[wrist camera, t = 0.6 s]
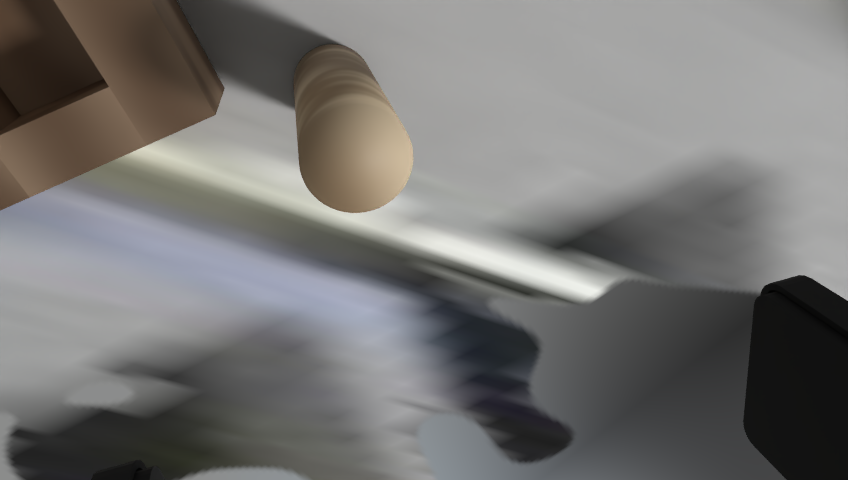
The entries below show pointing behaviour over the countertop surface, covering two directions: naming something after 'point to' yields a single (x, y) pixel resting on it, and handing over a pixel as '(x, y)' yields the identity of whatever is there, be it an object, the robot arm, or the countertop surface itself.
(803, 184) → the countertop surface
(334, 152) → the pin
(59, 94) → the bore block
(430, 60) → the countertop surface
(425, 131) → the countertop surface
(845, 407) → the robot arm
